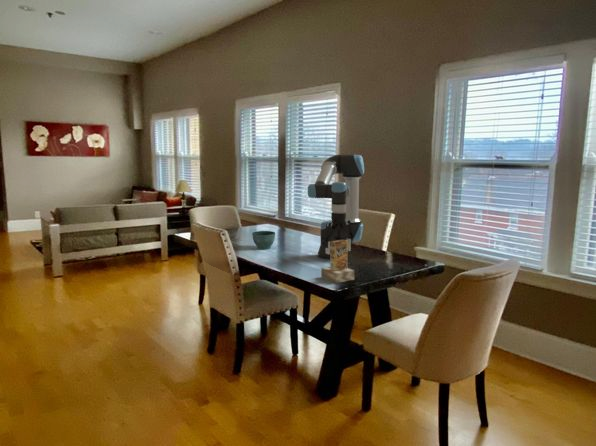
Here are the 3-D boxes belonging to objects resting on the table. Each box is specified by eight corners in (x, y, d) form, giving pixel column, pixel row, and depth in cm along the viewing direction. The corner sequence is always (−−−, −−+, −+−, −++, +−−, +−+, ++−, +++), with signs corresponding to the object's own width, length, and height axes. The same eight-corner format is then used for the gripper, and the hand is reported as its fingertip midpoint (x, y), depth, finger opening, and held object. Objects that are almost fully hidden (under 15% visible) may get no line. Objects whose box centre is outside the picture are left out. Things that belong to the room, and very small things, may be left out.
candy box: (334, 271, 226) (335, 242, 223) (329, 269, 229) (330, 240, 227) (347, 268, 230) (348, 240, 228) (342, 266, 234) (343, 239, 232)
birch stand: (339, 273, 239) (339, 265, 238) (354, 279, 228) (354, 270, 227) (321, 277, 233) (321, 268, 232) (336, 283, 222) (336, 273, 221)
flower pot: (278, 249, 300) (278, 234, 298) (255, 251, 295) (255, 235, 293) (271, 245, 315) (271, 230, 313) (249, 246, 310) (249, 231, 308)
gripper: (352, 209, 234) (352, 247, 238) (314, 213, 221) (314, 253, 225) (361, 211, 228) (361, 250, 232) (323, 215, 215) (322, 256, 219)
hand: (338, 252), depth 228 cm, fingers open, 13 cm apart
